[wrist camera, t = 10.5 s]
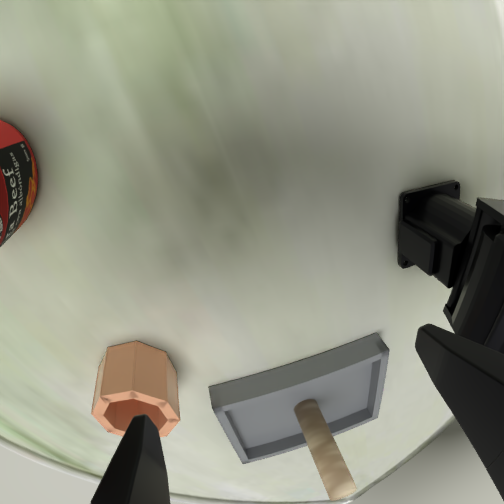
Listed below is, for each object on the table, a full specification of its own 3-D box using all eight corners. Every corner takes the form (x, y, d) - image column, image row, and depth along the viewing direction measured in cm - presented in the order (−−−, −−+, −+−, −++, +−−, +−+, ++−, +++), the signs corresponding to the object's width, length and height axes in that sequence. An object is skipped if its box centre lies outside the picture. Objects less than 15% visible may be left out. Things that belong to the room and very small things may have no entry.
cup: (158, 335, 23) (157, 385, 19) (183, 385, 26) (188, 432, 22) (88, 351, 22) (78, 398, 18) (121, 397, 25) (118, 443, 21)
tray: (376, 332, 28) (389, 349, 26) (368, 402, 34) (377, 417, 32) (208, 386, 27) (212, 408, 24) (238, 446, 32) (242, 464, 30)
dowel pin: (316, 396, 29) (358, 484, 20) (317, 408, 30) (356, 492, 21) (292, 403, 29) (330, 495, 19) (294, 416, 30) (330, 502, 21)
